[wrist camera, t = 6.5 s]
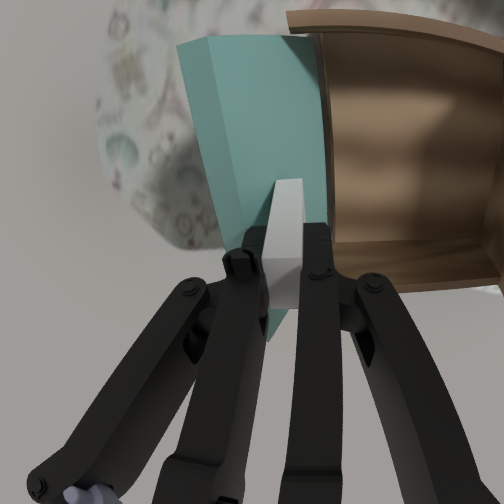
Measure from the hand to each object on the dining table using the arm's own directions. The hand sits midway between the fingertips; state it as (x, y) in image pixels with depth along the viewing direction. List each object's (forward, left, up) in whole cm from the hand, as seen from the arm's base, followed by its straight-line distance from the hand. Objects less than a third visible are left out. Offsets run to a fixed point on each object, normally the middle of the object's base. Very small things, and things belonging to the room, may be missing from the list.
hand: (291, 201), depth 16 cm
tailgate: (0, +2, -8) cm, 8 cm away
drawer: (0, +12, -11) cm, 16 cm away
